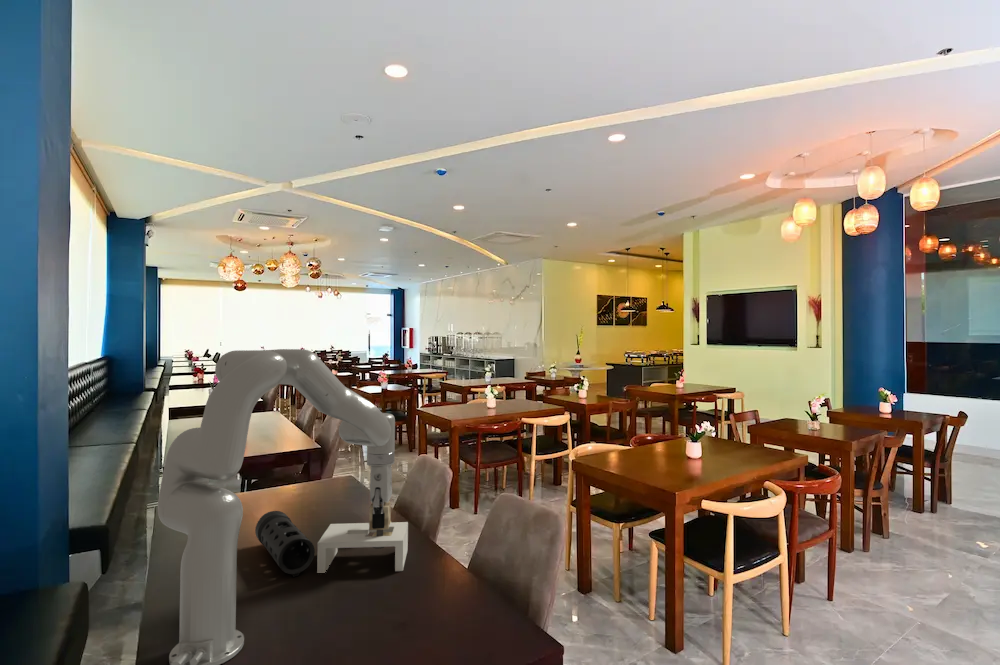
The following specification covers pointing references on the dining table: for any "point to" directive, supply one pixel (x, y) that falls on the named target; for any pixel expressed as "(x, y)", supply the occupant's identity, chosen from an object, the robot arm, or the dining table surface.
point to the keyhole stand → (361, 541)
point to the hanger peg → (387, 519)
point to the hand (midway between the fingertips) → (379, 523)
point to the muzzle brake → (285, 542)
